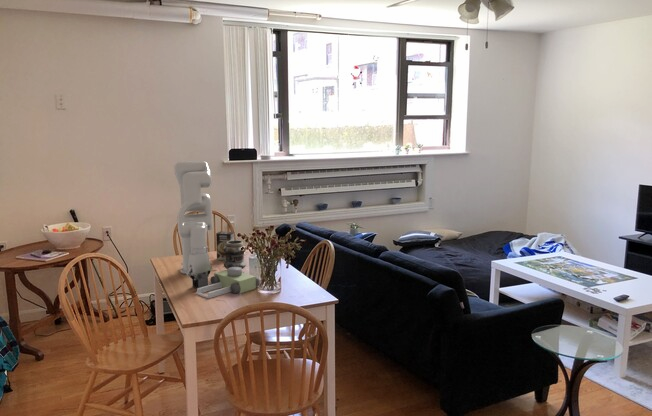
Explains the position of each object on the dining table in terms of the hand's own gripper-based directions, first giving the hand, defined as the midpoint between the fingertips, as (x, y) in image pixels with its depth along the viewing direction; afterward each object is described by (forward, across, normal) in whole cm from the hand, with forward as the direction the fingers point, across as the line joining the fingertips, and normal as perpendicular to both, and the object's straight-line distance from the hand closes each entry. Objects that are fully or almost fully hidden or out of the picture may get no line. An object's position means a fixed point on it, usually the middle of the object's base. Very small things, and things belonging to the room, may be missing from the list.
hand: (200, 285), depth 254 cm
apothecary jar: (+1, -25, -4) cm, 25 cm away
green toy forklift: (+1, -6, +12) cm, 13 cm away
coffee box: (+1, -41, -33) cm, 53 cm away
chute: (+1, 0, 0) cm, 1 cm away
